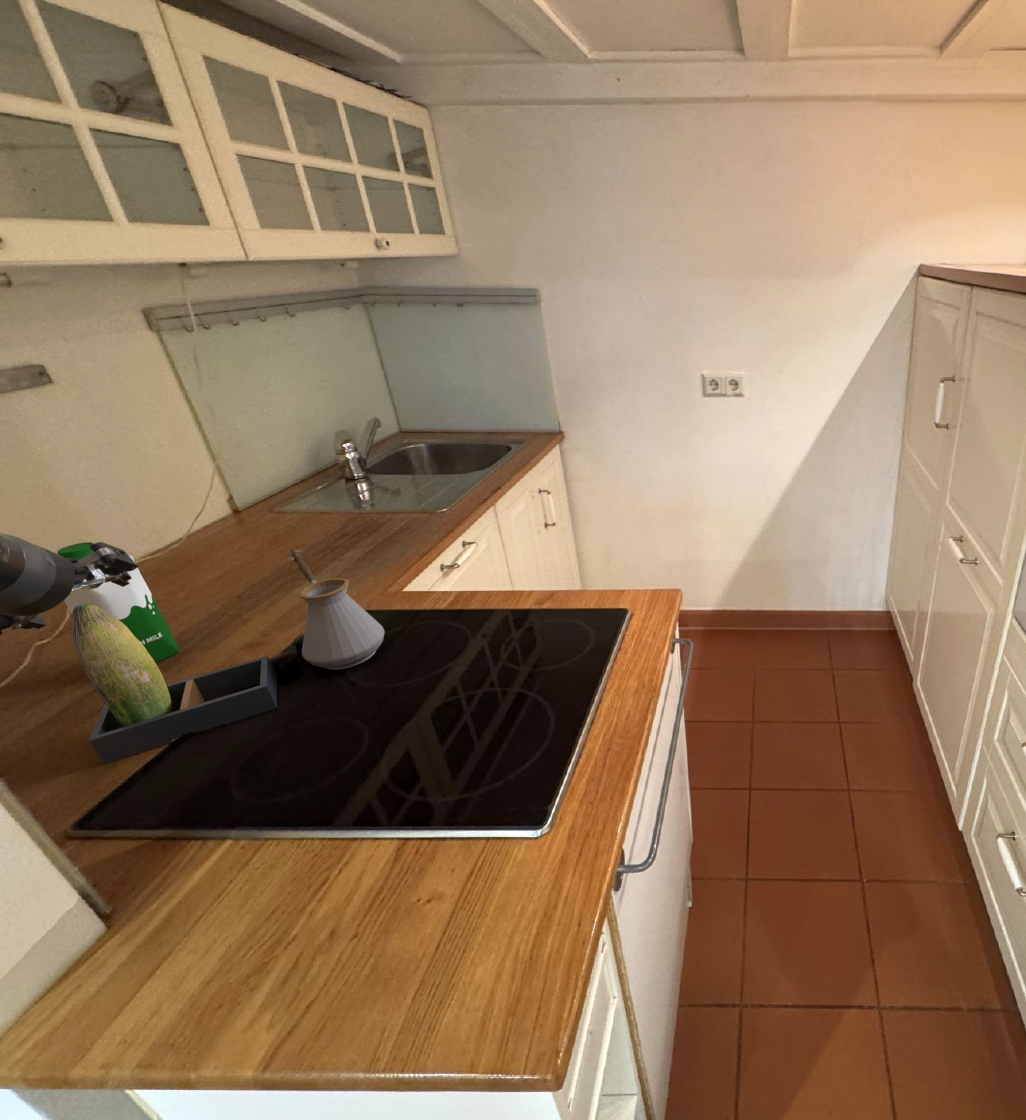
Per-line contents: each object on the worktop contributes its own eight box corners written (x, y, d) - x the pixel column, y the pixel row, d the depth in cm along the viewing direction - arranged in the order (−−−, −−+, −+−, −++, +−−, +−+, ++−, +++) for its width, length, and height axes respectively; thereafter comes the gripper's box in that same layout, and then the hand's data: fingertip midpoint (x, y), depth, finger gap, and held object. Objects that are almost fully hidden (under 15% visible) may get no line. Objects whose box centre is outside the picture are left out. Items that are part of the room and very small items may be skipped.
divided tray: (103, 764, 79) (88, 740, 77) (118, 724, 86) (104, 702, 85) (276, 708, 89) (266, 685, 87) (277, 676, 96) (267, 655, 94)
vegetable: (194, 710, 89) (128, 589, 80) (175, 737, 84) (102, 612, 75) (142, 720, 87) (68, 599, 78) (119, 749, 82) (37, 622, 73)
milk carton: (161, 639, 107) (105, 534, 98) (189, 650, 103) (133, 543, 94) (96, 666, 99) (28, 556, 91) (123, 679, 96) (56, 566, 87)
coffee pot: (400, 653, 101) (372, 572, 94) (320, 686, 93) (283, 601, 87) (357, 611, 114) (330, 537, 107) (284, 637, 106) (250, 560, 100)
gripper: (60, 507, 65) (126, 543, 78) (-126, 586, 57) (-17, 610, 71) (111, 563, 65) (168, 589, 79) (-65, 647, 58) (31, 660, 72)
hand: (80, 599), depth 75 cm, fingers open, 8 cm apart
